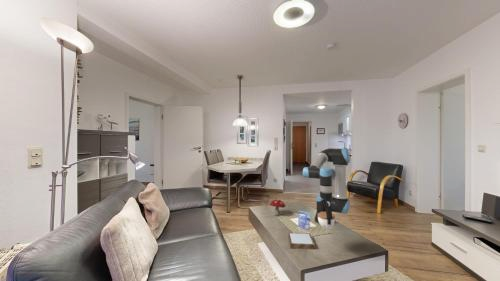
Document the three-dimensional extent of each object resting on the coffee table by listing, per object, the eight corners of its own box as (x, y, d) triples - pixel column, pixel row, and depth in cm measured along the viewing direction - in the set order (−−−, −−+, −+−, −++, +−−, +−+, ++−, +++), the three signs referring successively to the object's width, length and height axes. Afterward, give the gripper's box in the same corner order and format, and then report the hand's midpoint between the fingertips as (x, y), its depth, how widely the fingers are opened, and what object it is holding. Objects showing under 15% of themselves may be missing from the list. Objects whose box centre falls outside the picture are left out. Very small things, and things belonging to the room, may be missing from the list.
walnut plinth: (309, 237, 147) (309, 233, 147) (314, 249, 132) (314, 244, 132) (288, 236, 149) (288, 232, 149) (290, 248, 133) (290, 243, 133)
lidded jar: (326, 231, 123) (326, 216, 123) (314, 224, 133) (314, 210, 133) (338, 228, 127) (338, 213, 127) (326, 221, 137) (326, 208, 137)
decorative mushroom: (267, 212, 198) (267, 197, 198) (282, 211, 201) (282, 196, 200) (272, 218, 182) (271, 202, 182) (288, 217, 185) (288, 201, 185)
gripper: (315, 187, 141) (316, 217, 142) (325, 196, 118) (325, 233, 119) (326, 187, 141) (326, 217, 141) (338, 197, 118) (338, 233, 118)
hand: (326, 225), depth 130 cm, fingers closed on lidded jar, 11 cm apart
